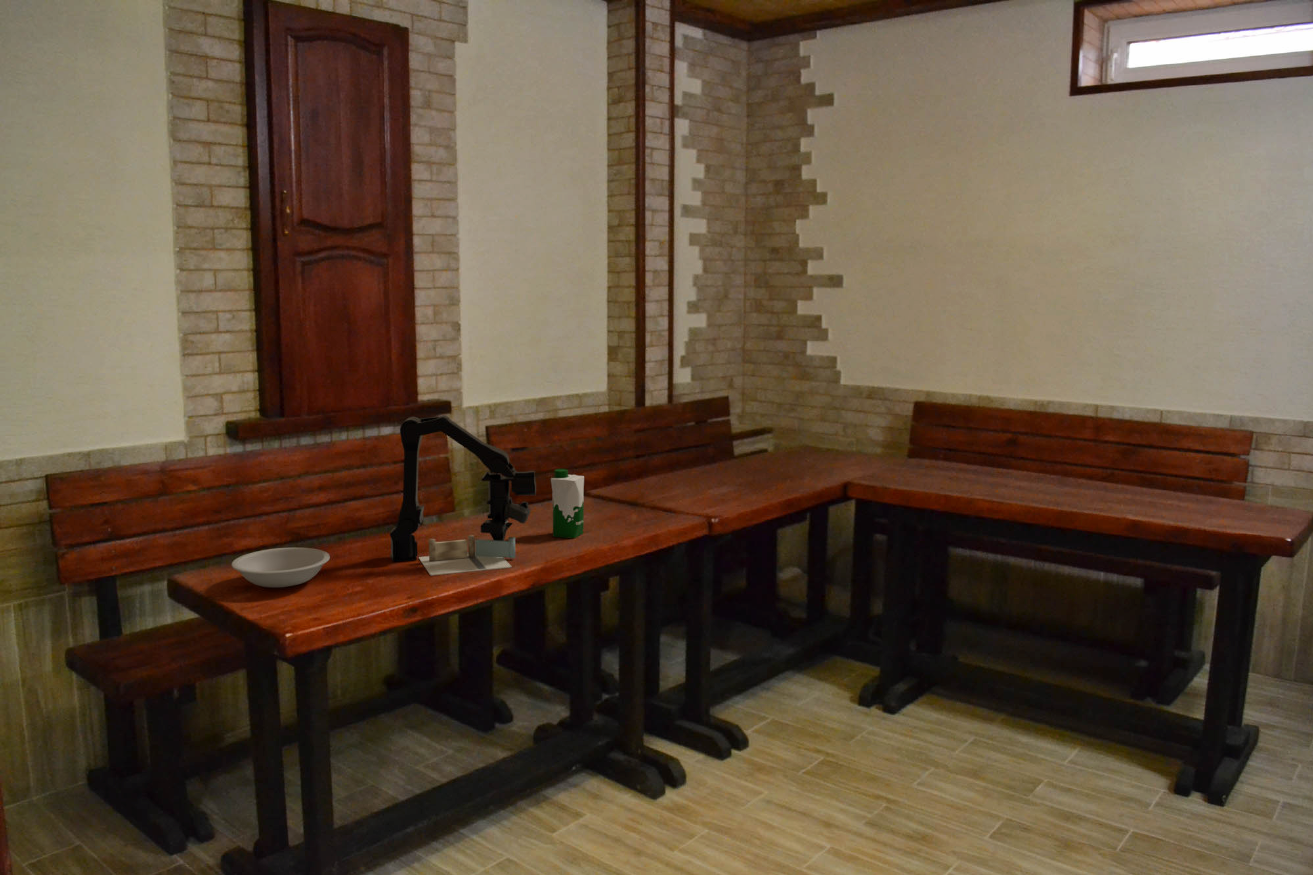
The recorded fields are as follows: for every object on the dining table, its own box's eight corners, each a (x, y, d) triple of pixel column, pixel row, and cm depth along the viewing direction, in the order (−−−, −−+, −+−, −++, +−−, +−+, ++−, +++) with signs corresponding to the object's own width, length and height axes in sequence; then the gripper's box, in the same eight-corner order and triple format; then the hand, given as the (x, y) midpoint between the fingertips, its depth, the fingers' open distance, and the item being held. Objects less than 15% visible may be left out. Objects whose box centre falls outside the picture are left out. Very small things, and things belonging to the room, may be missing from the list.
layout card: (430, 575, 295) (430, 574, 295) (418, 558, 312) (418, 556, 312) (511, 567, 303) (511, 566, 303) (495, 550, 320) (495, 549, 320)
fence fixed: (429, 561, 308) (429, 540, 307) (428, 560, 309) (428, 539, 308) (475, 557, 312) (475, 536, 311) (474, 555, 314) (473, 535, 313)
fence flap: (475, 556, 312) (474, 537, 311) (477, 554, 314) (476, 535, 313) (514, 558, 310) (514, 538, 309) (516, 556, 312) (515, 537, 311)
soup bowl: (217, 583, 288) (215, 558, 287) (303, 565, 305) (302, 542, 304) (258, 604, 271) (257, 578, 270) (348, 584, 288) (346, 559, 287)
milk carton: (560, 530, 344) (559, 467, 341) (587, 532, 341) (587, 468, 338) (548, 537, 336) (548, 472, 333) (576, 539, 333) (575, 474, 330)
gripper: (519, 504, 301) (520, 560, 304) (534, 488, 319) (535, 541, 322) (479, 503, 302) (480, 558, 305) (496, 487, 320) (498, 539, 323)
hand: (500, 549), depth 314 cm, fingers closed
